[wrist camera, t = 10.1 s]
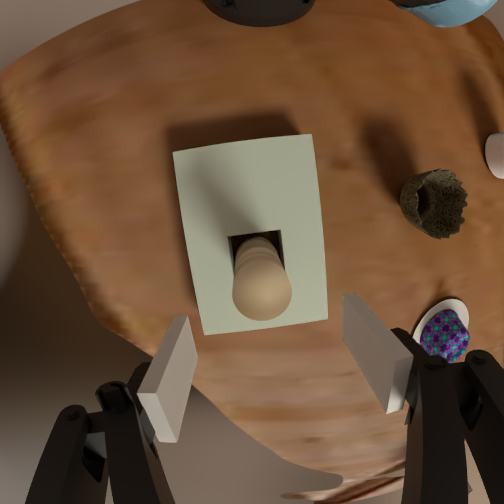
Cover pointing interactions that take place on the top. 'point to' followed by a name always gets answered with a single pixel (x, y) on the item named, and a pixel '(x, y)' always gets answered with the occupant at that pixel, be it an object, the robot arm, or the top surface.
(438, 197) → the cup
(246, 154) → the board
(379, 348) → the robot arm
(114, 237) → the top surface
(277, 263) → the peg
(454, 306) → the pudding
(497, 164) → the can
